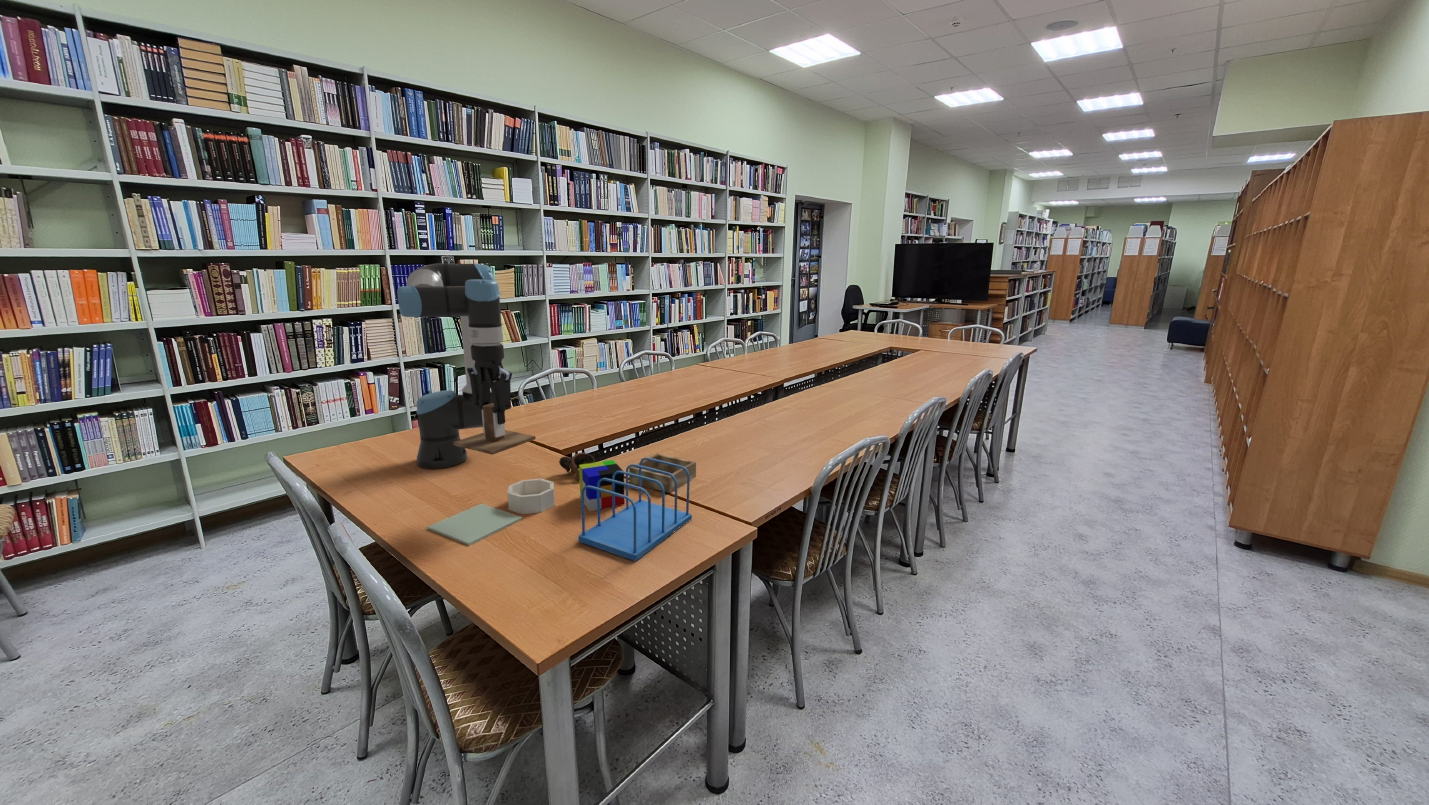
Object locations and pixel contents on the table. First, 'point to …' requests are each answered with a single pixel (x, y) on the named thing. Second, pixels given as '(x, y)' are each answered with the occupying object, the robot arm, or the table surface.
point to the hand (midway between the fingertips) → (494, 434)
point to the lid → (493, 437)
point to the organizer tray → (663, 479)
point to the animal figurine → (575, 463)
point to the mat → (474, 524)
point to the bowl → (531, 496)
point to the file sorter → (634, 518)
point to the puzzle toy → (591, 477)
